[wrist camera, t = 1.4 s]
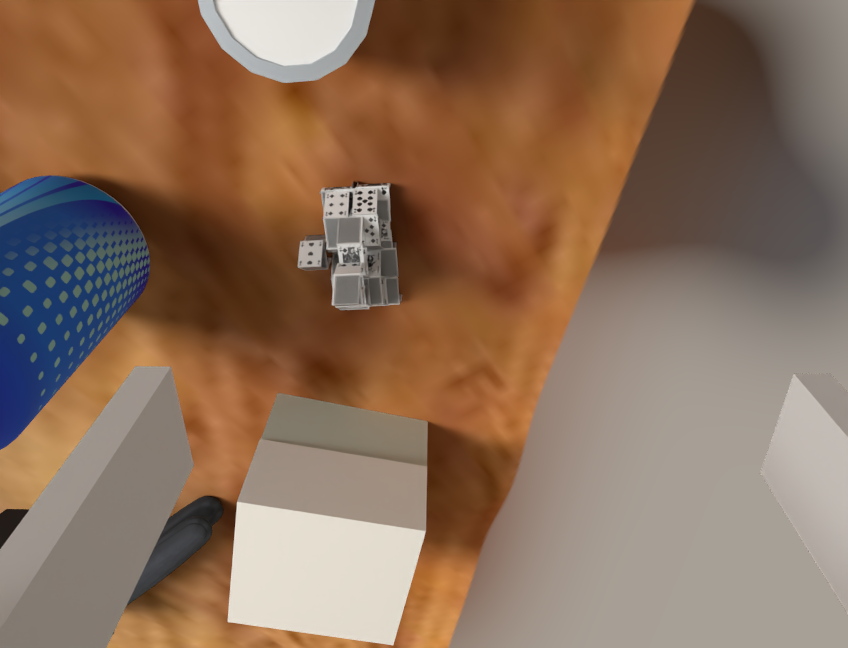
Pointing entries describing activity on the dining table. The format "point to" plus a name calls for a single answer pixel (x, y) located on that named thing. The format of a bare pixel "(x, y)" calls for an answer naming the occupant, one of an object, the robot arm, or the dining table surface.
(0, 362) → the beer can
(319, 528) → the tower top block
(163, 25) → the dining table surface
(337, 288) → the house of cards
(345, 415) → the tower bottom block
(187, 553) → the can opener
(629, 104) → the dining table surface
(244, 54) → the white gray-rimmed cylinder
